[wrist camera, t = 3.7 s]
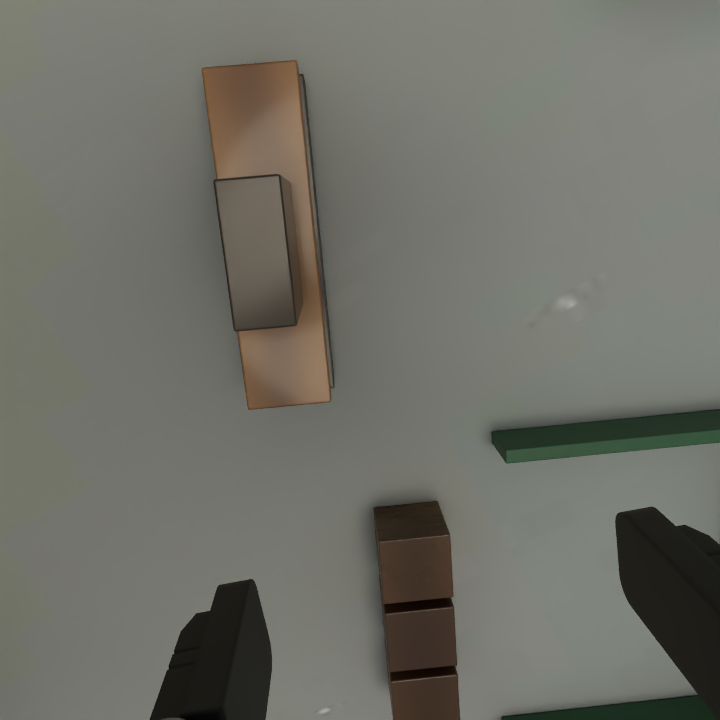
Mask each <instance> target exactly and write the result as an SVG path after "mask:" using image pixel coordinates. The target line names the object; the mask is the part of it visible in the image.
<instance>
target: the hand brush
mask: <svg viewBox="0 0 720 720" xmlns="http://www.w3.org/2000/svg"><path fill="white" fill-rule="evenodd" d="M202 76H203V83H204V91H205V98H206V105H207V113H208V120H209V127H210V135H211V142H212V149H213V157H214V164H215V171H216V179H215V180H214V190H215V197H216V204H217V211H218V219H219V226H220V233H221V240H222V248H223V255H224V262H225V269H226V277H227V284H228V291H229V298H230V306H231V313H232V320H233V327H234V331H236V332H238V340H239V347H240V354H241V362H242V369H243V376H244V384H245V391H246V398H247V406H248V409H249V410H252V409H263V408H273V407H284V406H294V405H304V404H315V403H325V402H331V388H334V371H333V360H332V350H331V340H330V330H329V320H328V310H327V300H326V290H325V280H324V269H323V259H322V249H321V239H320V229H319V219H318V209H317V199H316V189H315V179H314V168H313V158H312V148H311V138H310V128H309V118H308V108H307V98H306V88H305V80H304V76H303V74H299V68H298V64H297V61H296V60H291V61H279V62H267V63H254V64H242V65H230V66H217V67H205V68H202Z"/></svg>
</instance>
